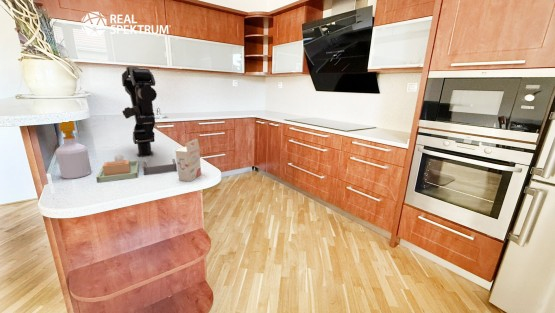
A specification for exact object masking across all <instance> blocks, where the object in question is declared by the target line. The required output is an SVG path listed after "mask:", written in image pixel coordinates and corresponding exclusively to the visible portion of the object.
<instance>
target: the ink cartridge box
mask: <svg viewBox="0 0 555 313" xmlns="http://www.w3.org/2000/svg"><path fill="white" fill-rule="evenodd" d="M175 155H176V156H175V157H176V166H177V175H178V181H183V182H192V181H193V180H194V179H196V178H197V177H198V176H200V175H201V174H202V169H201V168H202V167H201V153H200V145H199V140H198V138H196V139H193V140H189V141H188V142H186V143H185V146H183V147H181V148H179V149H177V150H175Z"/></svg>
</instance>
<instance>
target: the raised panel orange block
mask: <svg viewBox="0 0 555 313" xmlns="http://www.w3.org/2000/svg"><path fill="white" fill-rule="evenodd" d="M130 162H131V161H130V160H129V159H125V160H124V156H123V155H120V154H119V155H115V156H114V161H104V163H103V165H102V167H103V171H104V176H110V175H118V174H127V173H131V168H130Z"/></svg>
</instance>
